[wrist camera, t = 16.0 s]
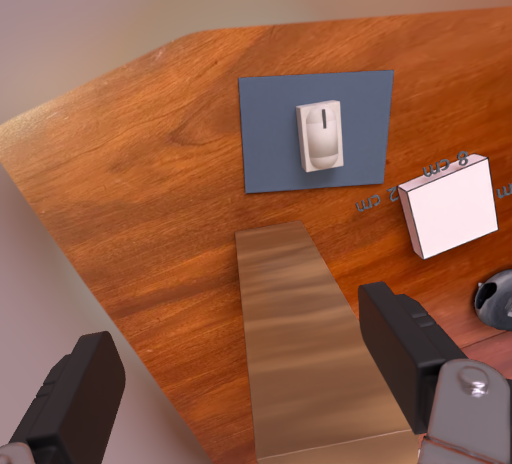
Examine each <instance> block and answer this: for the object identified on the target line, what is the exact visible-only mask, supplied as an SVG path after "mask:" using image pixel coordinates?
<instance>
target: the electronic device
mask: <svg viewBox="0 0 512 464" xmlns="http://www.w3.org/2000/svg"><path fill="white" fill-rule="evenodd" d="M475 309H476V312H477V315H478V317H479V319H480V320H481V321H482V322H483V323H484V324H486V325H488V326H491V327H494V328H496V329H498V330H506V331H512V269H508V270H504V271H502V272H499V273H497V274H495V275H494V276H492V277H491V278H490V279H488V280H487V281H486V282H485V283H484V284H482V283H479V290H478V291H477V294H476V298H475Z"/></svg>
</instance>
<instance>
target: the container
mask: <svg viewBox="0 0 512 464" xmlns="http://www.w3.org/2000/svg"><path fill="white" fill-rule="evenodd" d="M462 153H464V157H463V158H460V155H461V154H462ZM467 155H468V154H467V152H465V151H461V152H459V153H458V155H457V159H459V160H458V161H455V162H453V163H450V164H449V161H448V160H446V159H443V160H441V161H439V162H440V163H442V162H444V161H445V162H446V166H443V167H441V168H439V163H438V162H436V168H437V169H436V170H434V171H433V167H432V165H429V167H430V172H429V173H427V171H426V168H425V167H424V168H423V171H424V175H422V176H420V177H417V178H415V179H412V180H410V181H408V182H405V183H403V184H401V185H398V186H397V189H398V192H399V196H400V200H401V204H402V208H403V212H404V215H405V219H406V223H407V227H408V231H409V235H410V238H411V242H412V246H413V250H414V252H415V253H416V254H417V255H418V256H419V257H420V258H422V259H423V260H426V259H428V258H431V257H433V256H436V255H438V254H441V253H443V252H445V251H448V250H450V249H453V248H455V247H458V246H460V245H463V244H465V243H468V242H470V241H473V240H475V239H478V238H480V237H483V236H485V235H488V234H490V233H493V232H495V231H498V230H499V227H498V220H497V213H496V206H495V199H494V192H493V185H492V178H491V171H490V164H489V157H485V156H482V155H478V154H475V153H474V154H472V155H469V156H467ZM395 190H396V187H393V188H391V189H388V190H387V191H388V192H389V191H392V192H391V194H390V200H391V201H396V200H397V199H398V197H396V198H395V199H392V195H393V193H394V191H395ZM496 190H497V196H498V197H499V198H503V197H504V196H505V195H510V193H511V194H512V184H509V192H508V193H506V187H505V186H504V187H503V195H500V189H496ZM374 197H377V198H378V201H377V203H375V204H373V205H374V206H376V205H378V204H379V203H380V197H379V196H378V195H373V196H372V197H371V198H372V199H373V198H374ZM367 199H368V203H369V206H368V207H366V206H365V203H364V201H363V200H362V205H363V208H362V209H360V208H359V205H358V203H356V206H357V209H358V210H359V211H360V212H362V211H363V210H364V209H369V208H370V207H372V205H371V201H370V198H367Z"/></svg>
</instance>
